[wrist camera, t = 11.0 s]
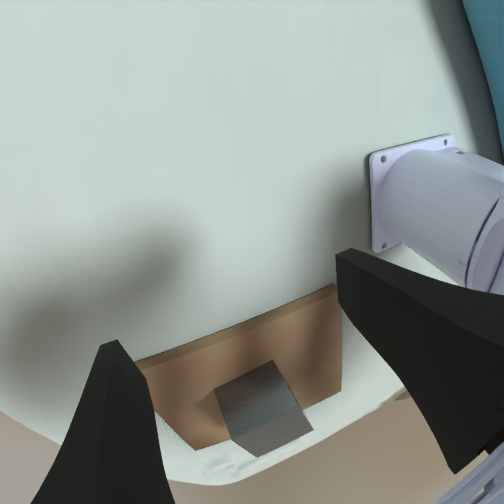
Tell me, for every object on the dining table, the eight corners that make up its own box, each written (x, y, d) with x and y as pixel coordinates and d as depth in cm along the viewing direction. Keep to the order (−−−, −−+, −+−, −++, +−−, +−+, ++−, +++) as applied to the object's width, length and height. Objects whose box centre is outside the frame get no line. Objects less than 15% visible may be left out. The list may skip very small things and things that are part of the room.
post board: (333, 283, 24) (366, 319, 20) (336, 384, 32) (357, 414, 28) (123, 365, 21) (128, 415, 17) (193, 443, 29) (203, 478, 26)
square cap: (272, 359, 24) (299, 407, 20) (290, 387, 27) (313, 429, 23) (213, 389, 24) (231, 440, 20) (238, 413, 27) (256, 457, 23)
